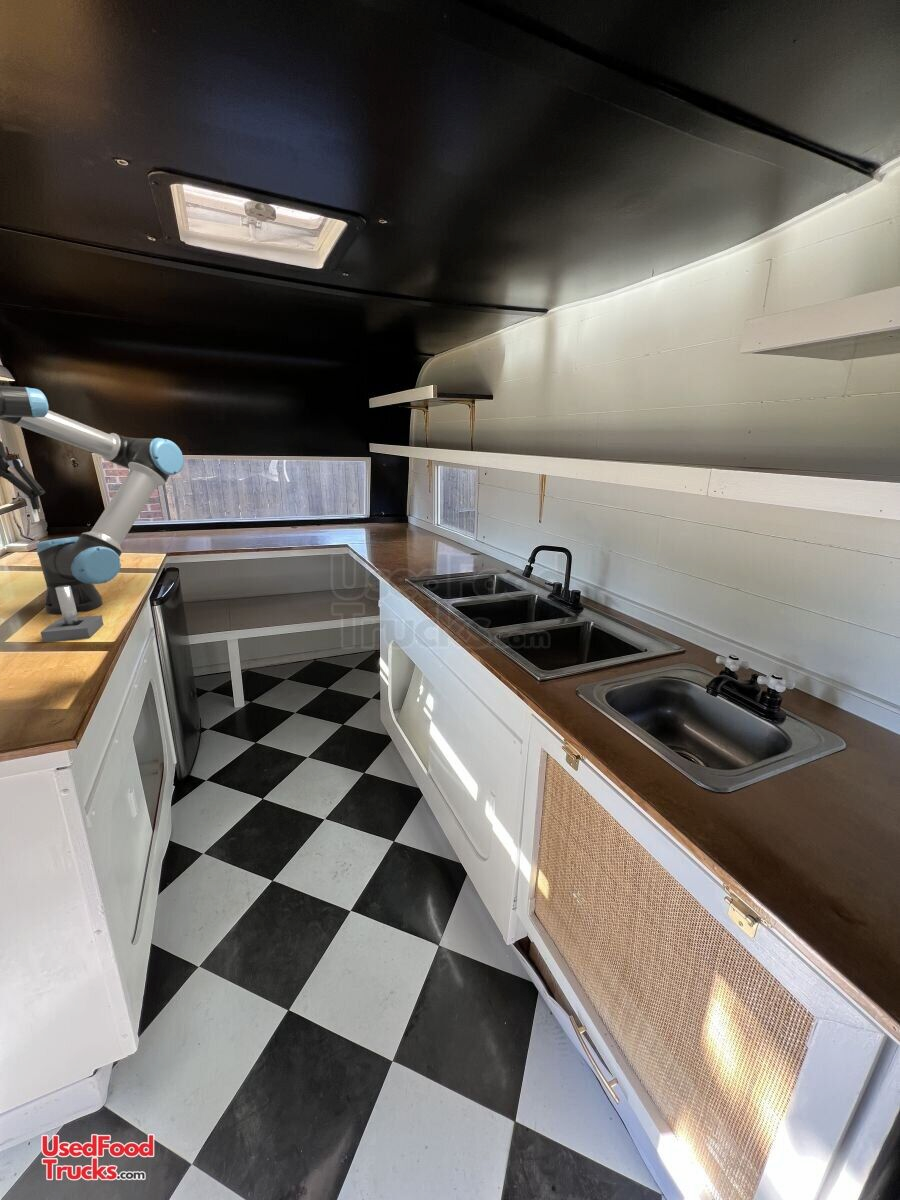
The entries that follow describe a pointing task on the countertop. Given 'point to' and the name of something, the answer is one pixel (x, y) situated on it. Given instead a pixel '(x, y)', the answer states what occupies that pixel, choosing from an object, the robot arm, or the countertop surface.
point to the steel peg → (67, 605)
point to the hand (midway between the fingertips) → (5, 522)
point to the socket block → (72, 629)
